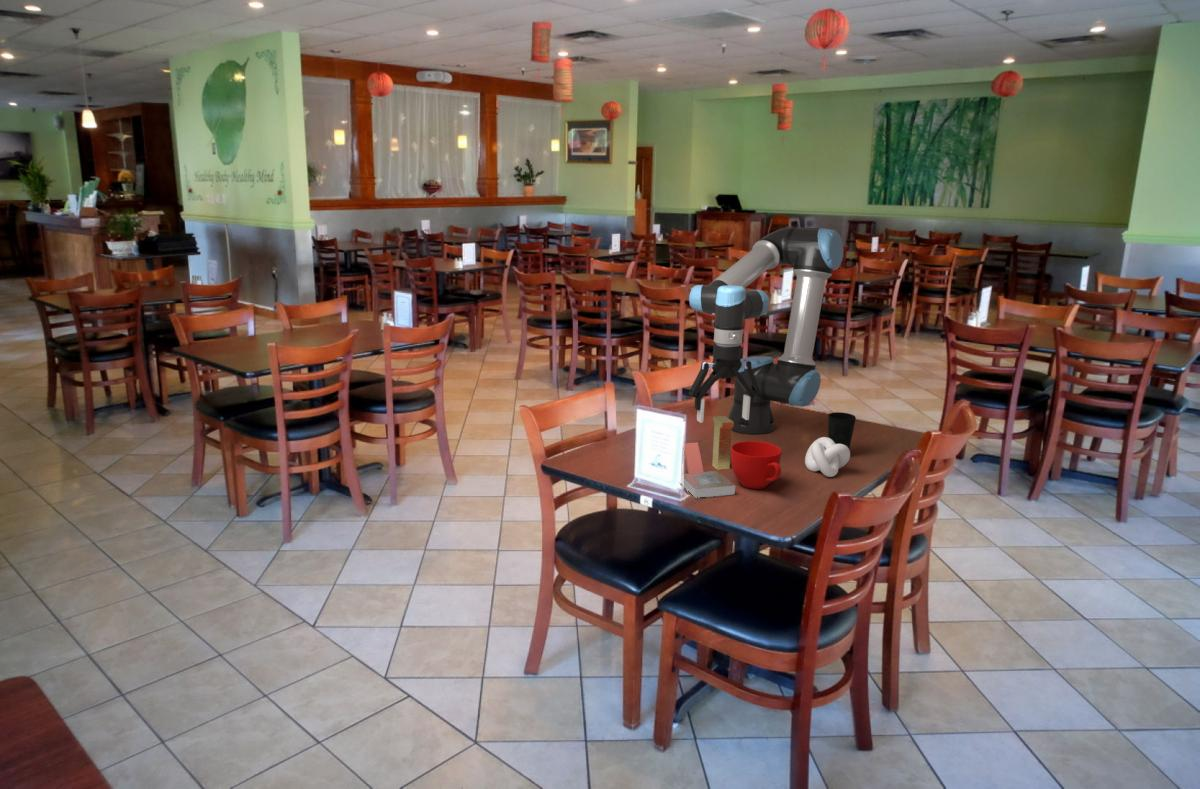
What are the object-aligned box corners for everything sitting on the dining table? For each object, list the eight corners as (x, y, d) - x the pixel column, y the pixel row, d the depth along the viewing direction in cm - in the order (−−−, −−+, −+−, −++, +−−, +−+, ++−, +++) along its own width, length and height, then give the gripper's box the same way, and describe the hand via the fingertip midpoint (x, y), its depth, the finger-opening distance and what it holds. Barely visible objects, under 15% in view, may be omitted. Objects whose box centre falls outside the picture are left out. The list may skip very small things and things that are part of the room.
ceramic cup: (755, 502, 202) (758, 464, 200) (719, 479, 217) (721, 444, 215) (798, 495, 207) (801, 458, 205) (760, 473, 222) (762, 438, 220)
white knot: (841, 483, 216) (844, 451, 213) (796, 475, 221) (799, 444, 219) (850, 470, 225) (853, 440, 223) (808, 463, 231) (810, 433, 229)
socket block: (678, 483, 214) (679, 474, 213) (716, 479, 217) (717, 470, 216) (694, 498, 204) (695, 489, 203) (734, 494, 207) (735, 485, 206)
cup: (853, 460, 233) (857, 420, 230) (825, 458, 235) (829, 418, 232) (850, 451, 241) (854, 413, 237) (824, 449, 242) (827, 411, 239)
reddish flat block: (681, 445, 219) (683, 443, 218) (697, 443, 221) (699, 441, 219) (688, 481, 216) (690, 479, 215) (704, 479, 217) (706, 478, 216)
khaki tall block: (710, 464, 229) (712, 416, 225) (722, 463, 230) (724, 415, 226) (719, 471, 223) (722, 422, 219) (731, 470, 224) (734, 421, 220)
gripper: (689, 348, 210) (685, 426, 216) (776, 345, 217) (770, 421, 222) (679, 342, 217) (675, 418, 222) (763, 340, 224) (757, 413, 229)
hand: (722, 420), depth 222 cm, fingers open, 13 cm apart
